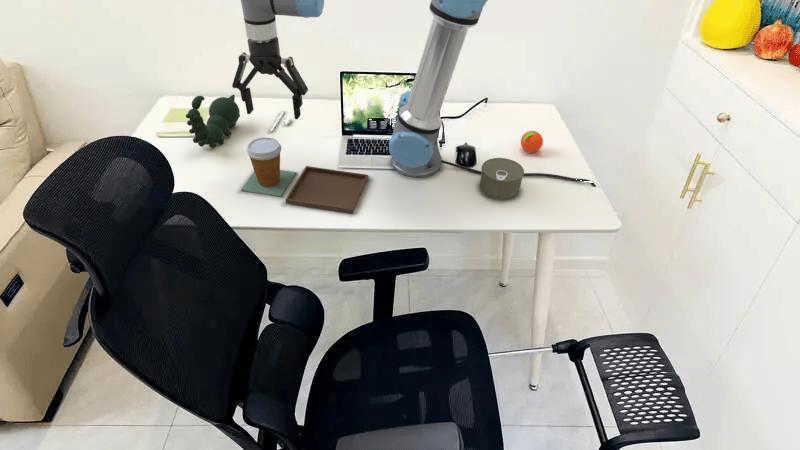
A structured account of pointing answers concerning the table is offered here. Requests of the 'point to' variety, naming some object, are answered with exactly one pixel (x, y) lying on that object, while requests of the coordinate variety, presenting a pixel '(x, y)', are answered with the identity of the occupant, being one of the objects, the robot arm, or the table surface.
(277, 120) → the picture light
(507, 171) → the can
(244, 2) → the robot arm
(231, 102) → the toy figurine
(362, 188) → the tray
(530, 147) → the clementine
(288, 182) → the mat
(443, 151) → the table surface
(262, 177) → the disposable coffee cup
